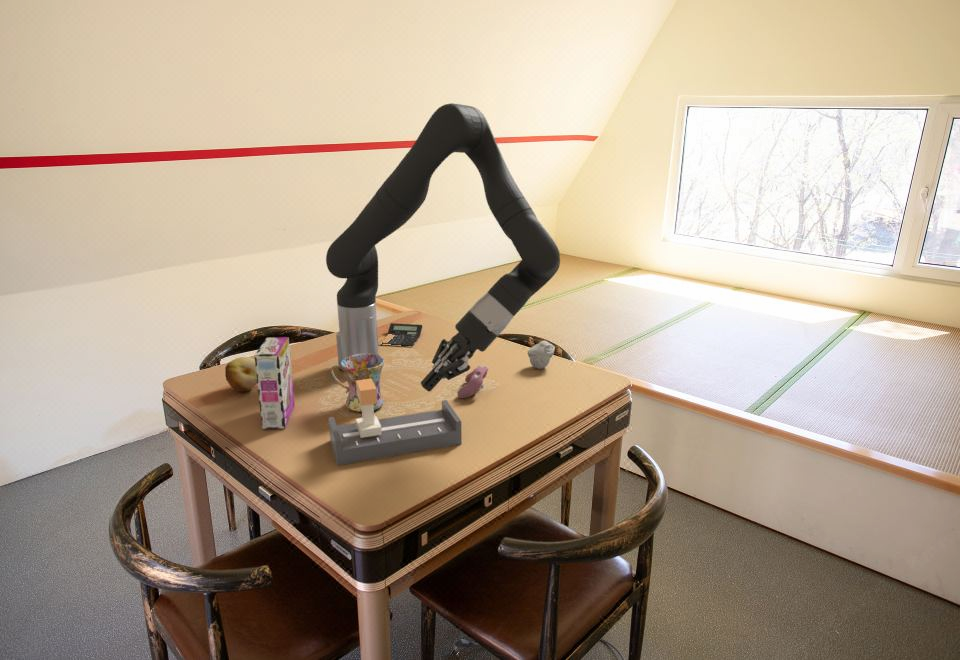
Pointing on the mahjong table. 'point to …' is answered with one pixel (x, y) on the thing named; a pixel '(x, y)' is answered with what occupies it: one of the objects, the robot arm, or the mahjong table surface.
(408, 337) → the calculator
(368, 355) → the mug
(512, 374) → the mahjong table surface
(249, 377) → the fruit
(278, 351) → the candy bar box
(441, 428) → the fader console
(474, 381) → the pink toy animal figure
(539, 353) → the grey lumpy stone
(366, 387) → the fader knob
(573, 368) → the mahjong table surface
